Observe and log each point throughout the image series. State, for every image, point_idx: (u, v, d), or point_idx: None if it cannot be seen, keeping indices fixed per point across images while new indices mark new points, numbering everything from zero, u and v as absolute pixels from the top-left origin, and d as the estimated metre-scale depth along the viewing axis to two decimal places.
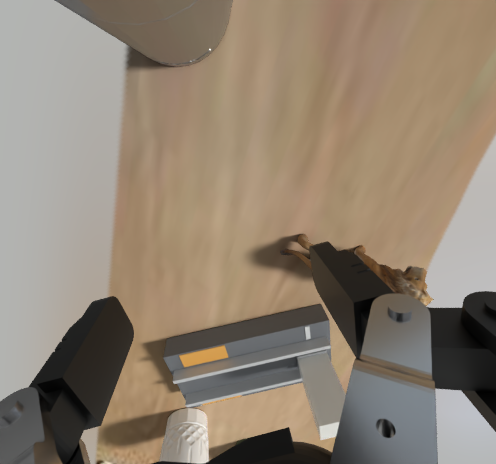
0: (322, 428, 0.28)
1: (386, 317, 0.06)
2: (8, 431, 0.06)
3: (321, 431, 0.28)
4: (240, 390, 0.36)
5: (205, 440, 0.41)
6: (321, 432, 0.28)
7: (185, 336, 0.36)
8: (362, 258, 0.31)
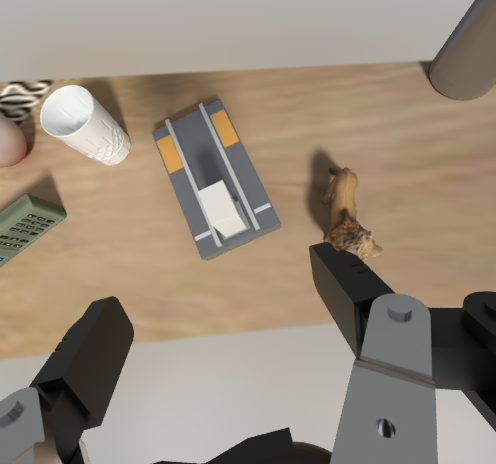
0: (219, 184, 0.28)
1: (386, 317, 0.06)
2: (9, 431, 0.06)
3: (214, 185, 0.28)
4: (187, 163, 0.38)
5: (106, 149, 0.40)
6: (211, 186, 0.28)
7: None
8: None
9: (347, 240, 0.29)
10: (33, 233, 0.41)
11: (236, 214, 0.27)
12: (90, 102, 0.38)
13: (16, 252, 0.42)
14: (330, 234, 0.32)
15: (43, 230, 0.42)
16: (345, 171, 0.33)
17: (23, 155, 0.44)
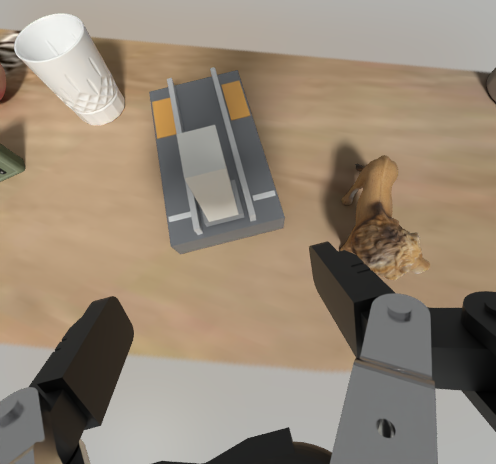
0: (209, 128, 0.19)
1: (386, 317, 0.06)
2: (8, 431, 0.06)
3: (202, 129, 0.19)
4: (181, 127, 0.30)
5: (89, 99, 0.33)
6: (197, 130, 0.19)
7: None
8: None
9: (381, 240, 0.20)
10: None
11: (224, 173, 0.19)
12: None
13: None
14: (354, 234, 0.23)
15: None
16: (382, 157, 0.25)
17: None
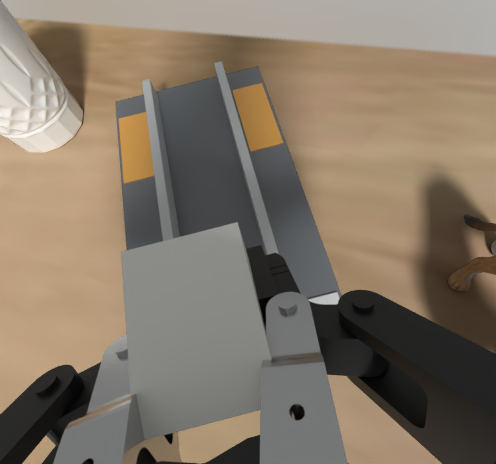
0: (220, 236, 0.06)
1: (274, 312, 0.07)
2: (122, 366, 0.06)
3: (198, 237, 0.06)
4: (163, 166, 0.17)
5: (14, 115, 0.20)
6: (186, 241, 0.06)
7: None
8: None
9: None
10: None
11: None
12: None
13: None
14: None
15: None
16: None
17: None
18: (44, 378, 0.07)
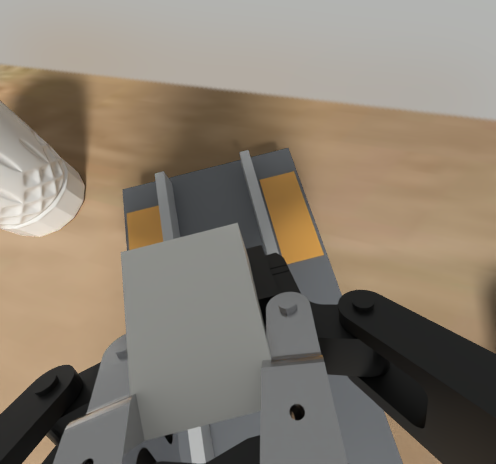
0: (220, 237, 0.06)
1: (274, 312, 0.07)
2: (122, 366, 0.06)
3: (198, 238, 0.06)
4: None
5: (3, 213, 0.17)
6: (186, 242, 0.06)
7: None
8: None
9: None
10: None
11: None
12: None
13: None
14: None
15: None
16: None
17: None
18: (44, 378, 0.07)
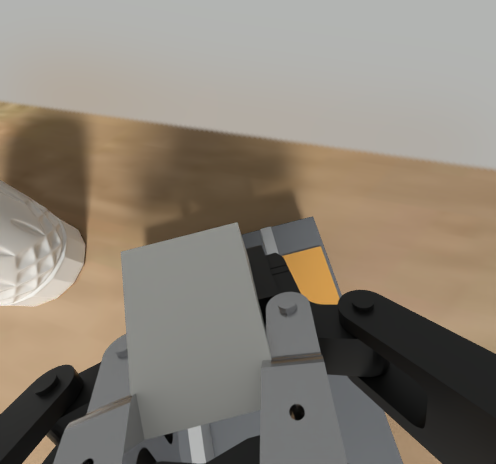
0: (220, 236, 0.06)
1: (274, 312, 0.07)
2: (122, 366, 0.06)
3: (198, 237, 0.06)
4: None
5: None
6: (185, 241, 0.06)
7: None
8: None
9: None
10: None
11: None
12: None
13: None
14: None
15: None
16: None
17: None
18: (44, 378, 0.07)
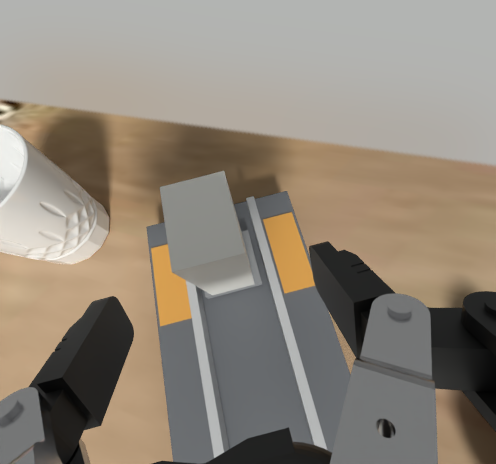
0: (214, 178, 0.12)
1: (386, 317, 0.06)
2: (9, 431, 0.06)
3: (202, 178, 0.12)
4: (201, 319, 0.17)
5: (48, 250, 0.20)
6: (195, 181, 0.12)
7: None
8: None
9: None
10: None
11: (242, 257, 0.11)
12: None
13: None
14: None
15: None
16: None
17: None
18: None
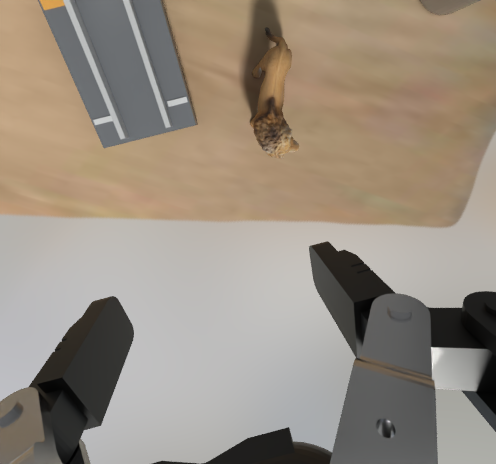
0: None
1: (386, 317, 0.06)
2: (9, 431, 0.06)
3: None
4: (71, 2, 0.26)
5: None
6: None
7: None
8: None
9: (267, 137, 0.29)
10: None
11: None
12: None
13: None
14: (254, 125, 0.31)
15: None
16: (280, 46, 0.28)
17: None
18: None
